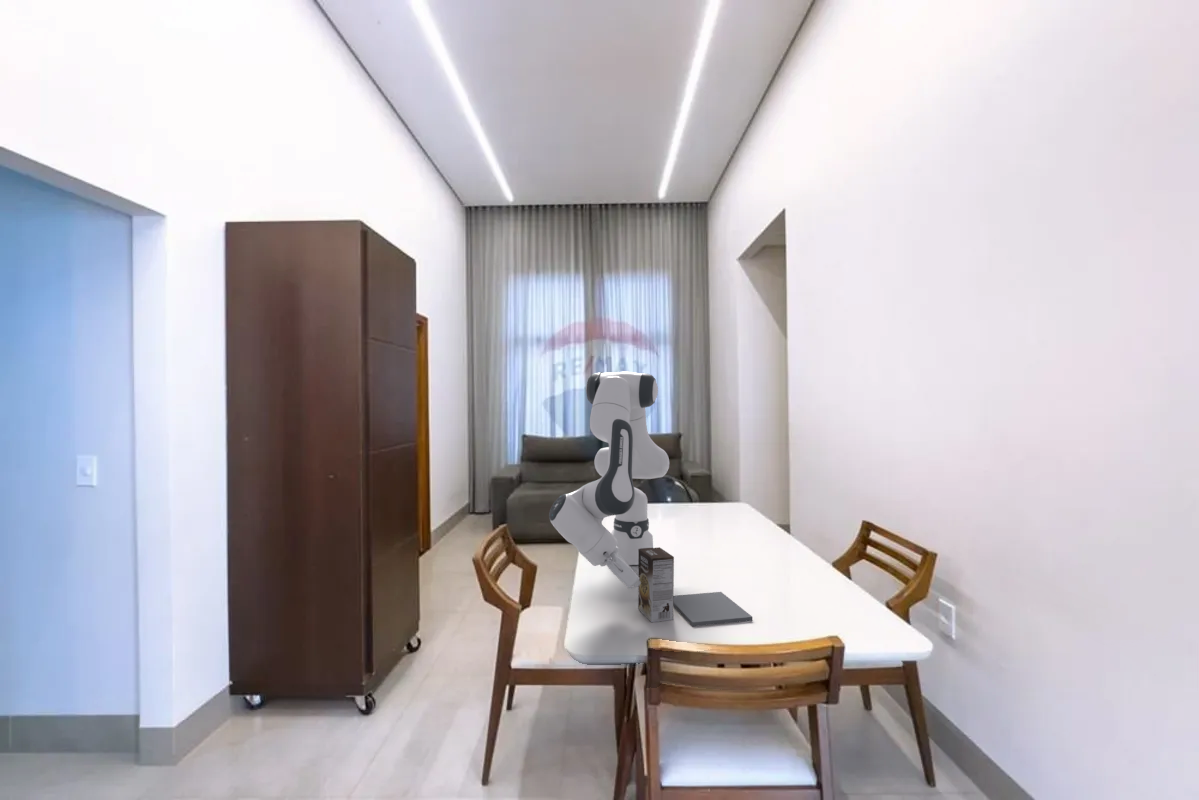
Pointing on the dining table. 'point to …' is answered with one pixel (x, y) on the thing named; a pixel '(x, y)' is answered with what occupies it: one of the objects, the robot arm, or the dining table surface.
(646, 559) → the coffee box
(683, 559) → the dining table surface
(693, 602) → the mat
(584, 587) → the dining table surface
